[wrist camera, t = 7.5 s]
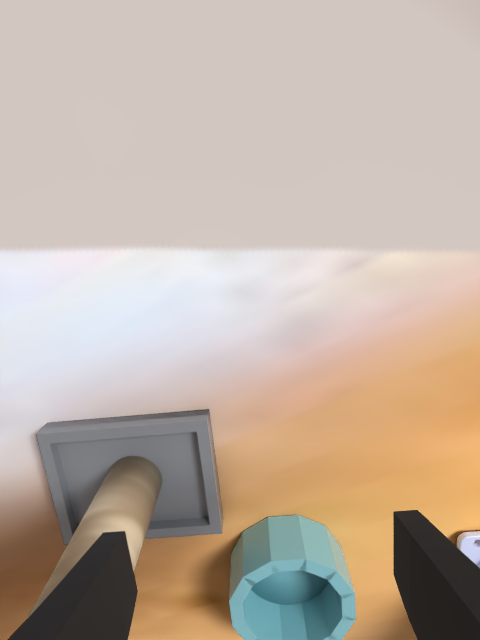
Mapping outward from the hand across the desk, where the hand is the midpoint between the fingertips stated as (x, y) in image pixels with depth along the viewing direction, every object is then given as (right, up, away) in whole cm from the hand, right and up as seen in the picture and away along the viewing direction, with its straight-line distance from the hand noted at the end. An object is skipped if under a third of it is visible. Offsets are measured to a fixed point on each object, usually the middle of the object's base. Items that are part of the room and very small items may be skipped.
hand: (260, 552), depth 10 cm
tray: (-6, -2, +11) cm, 13 cm away
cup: (+2, -8, +13) cm, 16 cm away
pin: (-6, -3, +11) cm, 13 cm away
